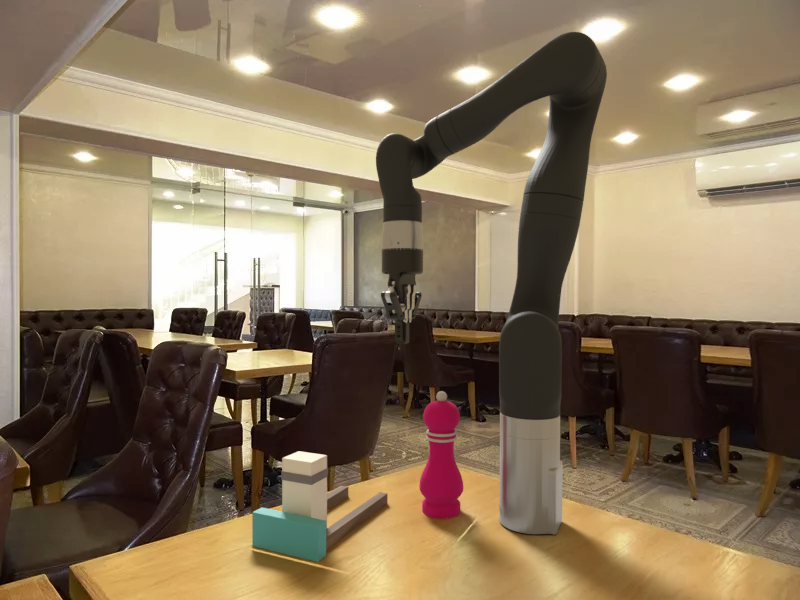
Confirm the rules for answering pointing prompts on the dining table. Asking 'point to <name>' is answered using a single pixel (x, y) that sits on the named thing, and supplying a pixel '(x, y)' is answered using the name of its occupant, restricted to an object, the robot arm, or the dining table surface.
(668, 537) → the dining table surface
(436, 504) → the pepper mill
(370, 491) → the dining table surface
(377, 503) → the guide rails
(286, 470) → the sleeve
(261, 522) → the teal rectangular block
